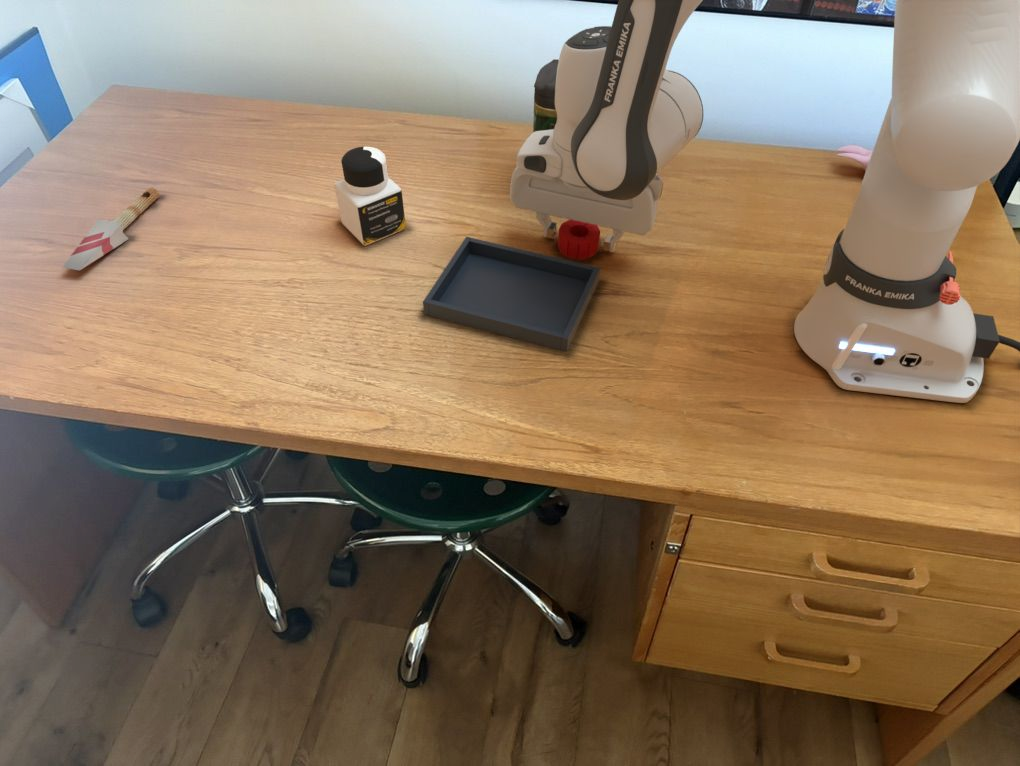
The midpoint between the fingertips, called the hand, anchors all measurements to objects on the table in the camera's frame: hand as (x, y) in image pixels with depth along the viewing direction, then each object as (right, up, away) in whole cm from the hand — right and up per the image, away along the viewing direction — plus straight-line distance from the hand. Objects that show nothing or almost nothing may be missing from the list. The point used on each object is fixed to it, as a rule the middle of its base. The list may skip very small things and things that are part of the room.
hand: (579, 242), depth 113 cm
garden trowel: (-67, +1, +3) cm, 67 cm away
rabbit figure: (+49, +13, +13) cm, 52 cm away
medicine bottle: (-30, +3, +5) cm, 31 cm away
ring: (0, -1, +1) cm, 1 cm away
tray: (-9, -9, -6) cm, 14 cm away
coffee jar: (-2, +11, +12) cm, 17 cm away
